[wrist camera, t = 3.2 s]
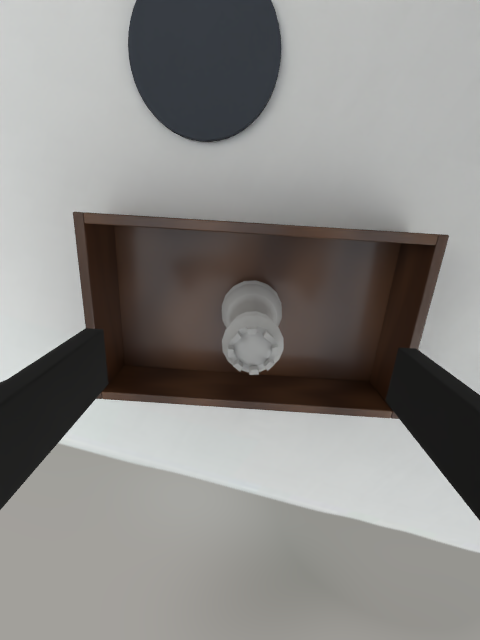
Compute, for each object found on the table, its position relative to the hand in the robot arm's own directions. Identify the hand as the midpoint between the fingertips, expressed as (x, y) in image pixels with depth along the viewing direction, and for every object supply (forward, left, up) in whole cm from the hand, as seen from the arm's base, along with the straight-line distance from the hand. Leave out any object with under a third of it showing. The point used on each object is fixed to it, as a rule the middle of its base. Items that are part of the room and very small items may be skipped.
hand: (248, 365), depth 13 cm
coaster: (+6, -15, -10) cm, 19 cm away
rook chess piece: (0, 0, -10) cm, 10 cm away
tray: (0, 0, -10) cm, 10 cm away
